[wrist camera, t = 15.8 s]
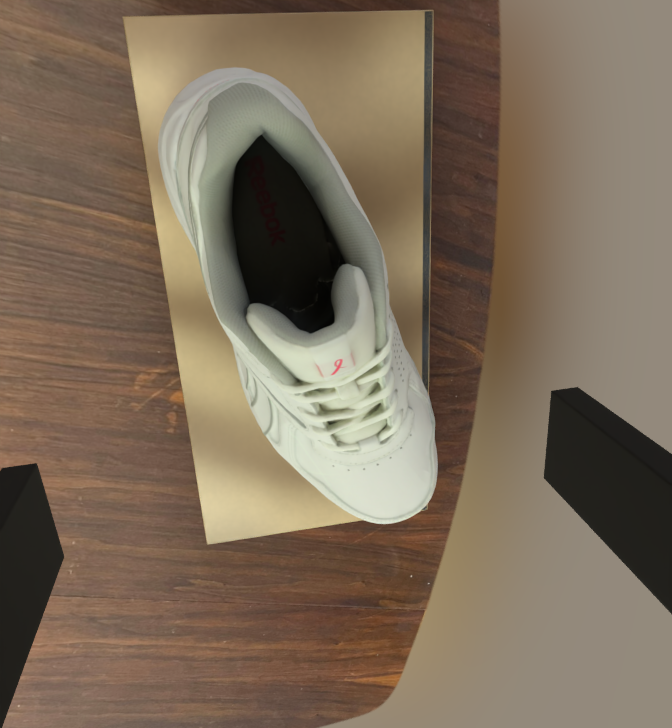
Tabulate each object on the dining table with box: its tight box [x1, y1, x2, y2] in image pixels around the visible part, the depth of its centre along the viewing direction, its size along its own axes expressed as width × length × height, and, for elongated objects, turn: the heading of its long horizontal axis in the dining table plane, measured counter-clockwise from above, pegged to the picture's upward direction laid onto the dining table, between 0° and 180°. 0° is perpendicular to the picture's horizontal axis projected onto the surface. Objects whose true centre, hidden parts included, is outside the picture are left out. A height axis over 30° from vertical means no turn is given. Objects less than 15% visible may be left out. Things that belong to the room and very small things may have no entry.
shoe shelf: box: [123, 10, 434, 545], centre depth 38 cm, size 32×16×5 cm, turn 3°
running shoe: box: [158, 67, 438, 524], centre depth 30 cm, size 11×27×14 cm, turn 25°
